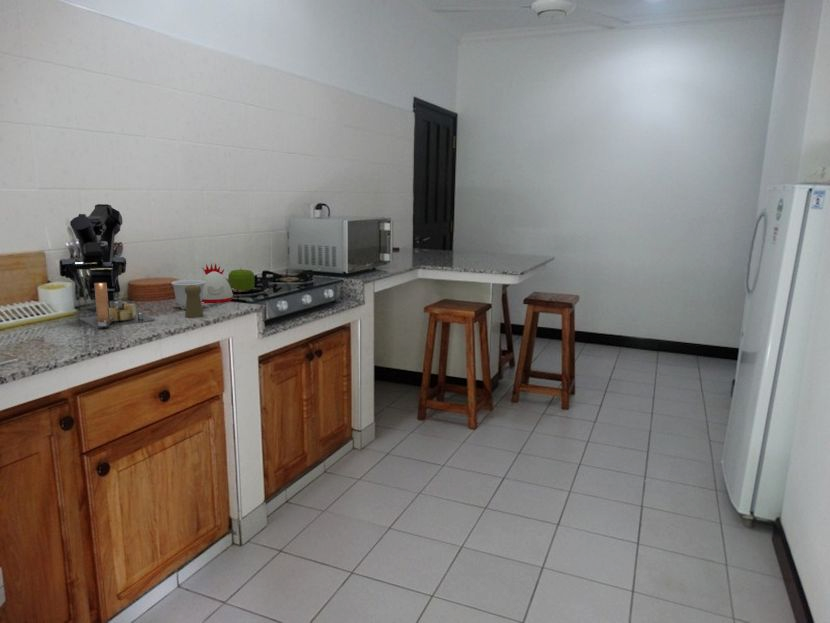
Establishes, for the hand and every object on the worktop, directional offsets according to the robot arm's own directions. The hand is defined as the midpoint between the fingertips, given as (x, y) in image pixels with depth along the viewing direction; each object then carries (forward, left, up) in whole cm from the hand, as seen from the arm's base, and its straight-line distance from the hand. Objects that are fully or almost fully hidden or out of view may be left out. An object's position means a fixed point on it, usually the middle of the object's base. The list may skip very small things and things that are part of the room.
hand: (97, 286), depth 182 cm
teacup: (-7, +33, -13) cm, 36 cm away
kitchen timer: (-18, +48, -13) cm, 53 cm away
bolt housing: (-4, +6, -12) cm, 15 cm away
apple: (-29, +66, -13) cm, 73 cm away
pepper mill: (+6, +28, -13) cm, 32 cm away
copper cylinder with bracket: (-1, +4, -12) cm, 12 cm away
